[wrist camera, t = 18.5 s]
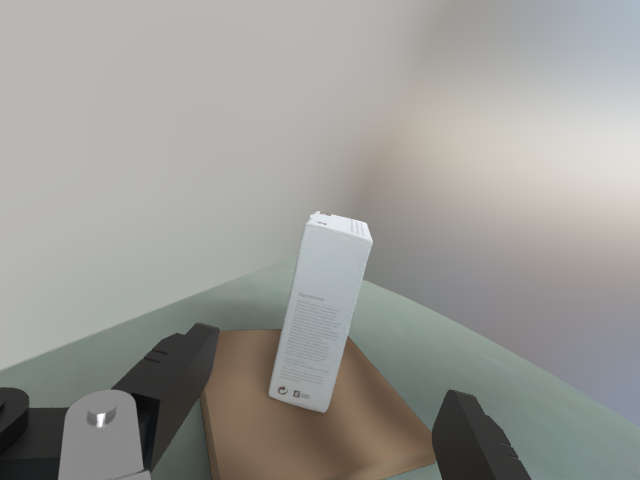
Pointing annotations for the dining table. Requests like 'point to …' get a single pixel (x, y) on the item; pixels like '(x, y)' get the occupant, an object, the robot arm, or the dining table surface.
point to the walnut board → (305, 420)
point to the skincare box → (320, 310)
